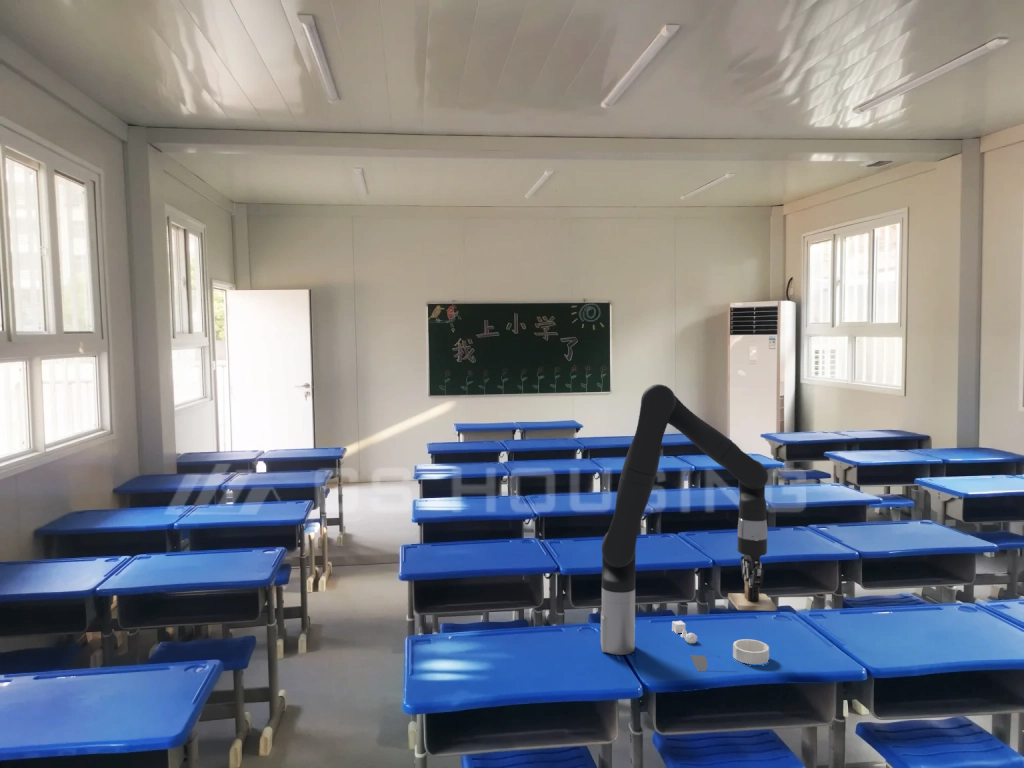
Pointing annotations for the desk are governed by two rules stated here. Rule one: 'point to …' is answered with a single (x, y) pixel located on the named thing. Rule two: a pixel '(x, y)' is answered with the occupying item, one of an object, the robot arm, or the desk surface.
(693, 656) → the mat
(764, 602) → the lid
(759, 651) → the bowl
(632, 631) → the robot arm
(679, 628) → the game pieces
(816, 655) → the desk surface
